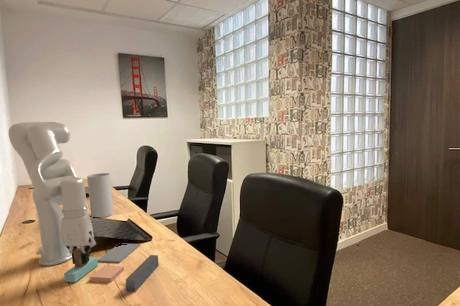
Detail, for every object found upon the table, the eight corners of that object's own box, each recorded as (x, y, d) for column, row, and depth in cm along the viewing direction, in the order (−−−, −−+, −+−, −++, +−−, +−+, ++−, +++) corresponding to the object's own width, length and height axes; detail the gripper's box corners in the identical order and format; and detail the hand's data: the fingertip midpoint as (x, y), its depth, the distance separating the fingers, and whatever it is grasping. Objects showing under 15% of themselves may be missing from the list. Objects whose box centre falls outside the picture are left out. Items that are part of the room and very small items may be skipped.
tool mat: (96, 261, 112) (96, 260, 112) (119, 244, 128) (119, 243, 128) (119, 262, 110) (119, 261, 110) (140, 245, 126) (140, 244, 126)
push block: (65, 281, 98) (62, 256, 97) (88, 264, 110) (86, 242, 109) (75, 282, 97) (72, 257, 96) (98, 265, 109) (95, 242, 108)
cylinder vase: (86, 218, 170) (82, 177, 167) (100, 211, 182) (96, 173, 179) (104, 218, 167) (100, 176, 164) (117, 212, 179) (114, 173, 176)
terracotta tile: (90, 282, 98) (90, 276, 98) (104, 270, 106) (104, 265, 106) (111, 283, 97) (110, 278, 96) (124, 271, 105) (123, 266, 104)
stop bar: (126, 291, 91) (125, 279, 90) (151, 265, 107) (150, 255, 107) (135, 292, 90) (134, 280, 90) (158, 265, 107) (157, 255, 106)
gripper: (47, 216, 99) (53, 266, 101) (88, 216, 96) (94, 268, 98) (63, 209, 106) (69, 256, 108) (102, 210, 103) (107, 258, 105)
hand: (81, 261), depth 103 cm, fingers closed on push block, 3 cm apart
